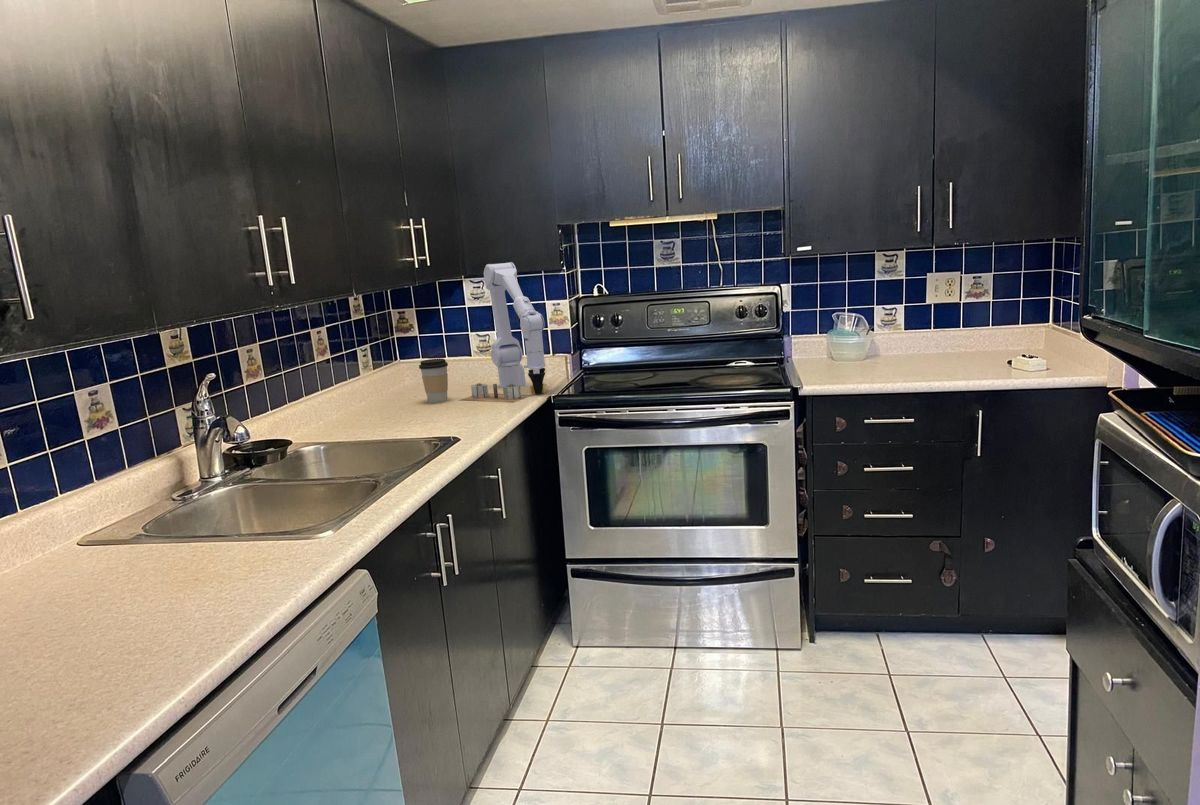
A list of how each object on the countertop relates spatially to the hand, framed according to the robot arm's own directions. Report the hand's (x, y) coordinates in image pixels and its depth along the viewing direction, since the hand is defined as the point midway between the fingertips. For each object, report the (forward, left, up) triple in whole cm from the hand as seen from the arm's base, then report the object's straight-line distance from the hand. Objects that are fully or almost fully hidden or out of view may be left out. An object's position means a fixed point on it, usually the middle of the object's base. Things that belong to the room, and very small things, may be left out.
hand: (538, 392), depth 270 cm
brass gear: (0, 0, -2) cm, 2 cm away
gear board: (+10, -10, -2) cm, 14 cm away
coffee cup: (+18, -28, -2) cm, 33 cm away
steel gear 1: (+10, -16, 0) cm, 19 cm away
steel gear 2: (+10, -3, 0) cm, 11 cm away
